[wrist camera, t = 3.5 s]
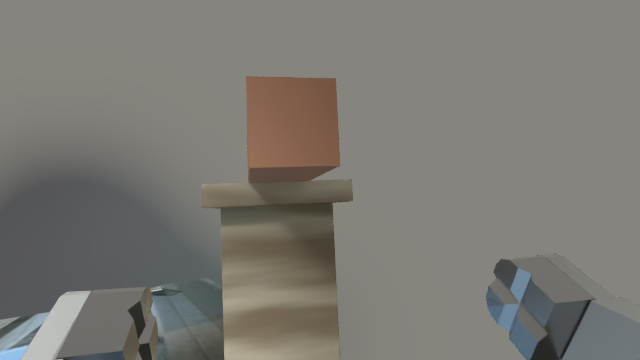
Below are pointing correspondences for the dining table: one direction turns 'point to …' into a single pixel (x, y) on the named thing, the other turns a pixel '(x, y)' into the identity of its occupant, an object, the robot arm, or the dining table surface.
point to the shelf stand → (279, 268)
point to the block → (291, 128)
